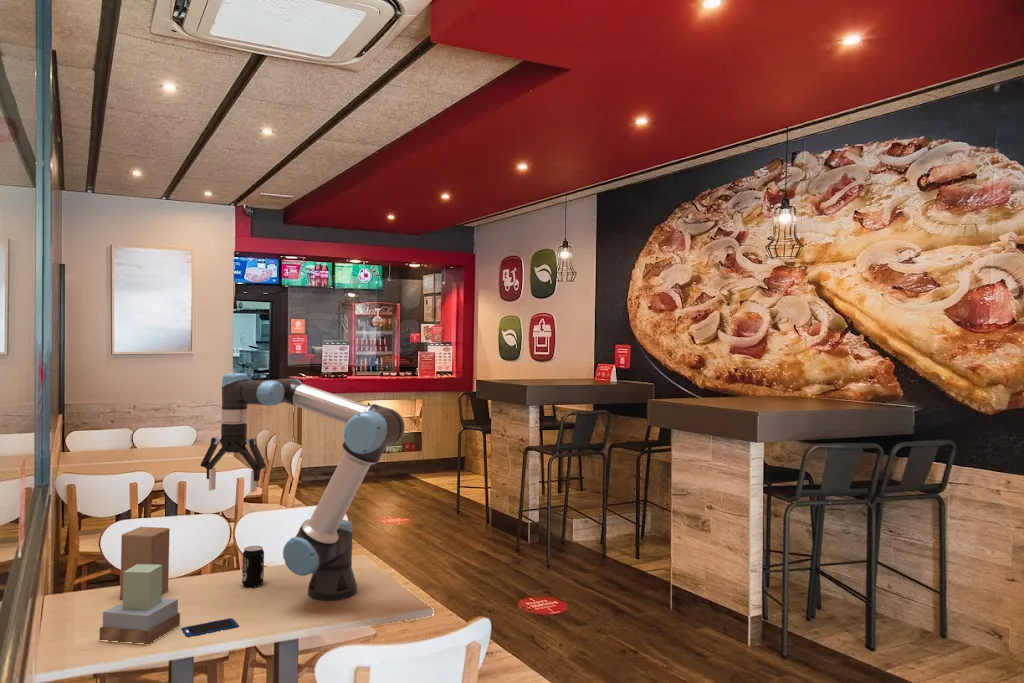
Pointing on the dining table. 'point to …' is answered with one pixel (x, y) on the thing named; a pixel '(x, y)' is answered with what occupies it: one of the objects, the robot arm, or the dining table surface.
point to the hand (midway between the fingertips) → (232, 490)
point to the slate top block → (140, 616)
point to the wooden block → (146, 551)
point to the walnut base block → (140, 632)
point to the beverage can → (253, 566)
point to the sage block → (142, 587)
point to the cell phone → (210, 627)
